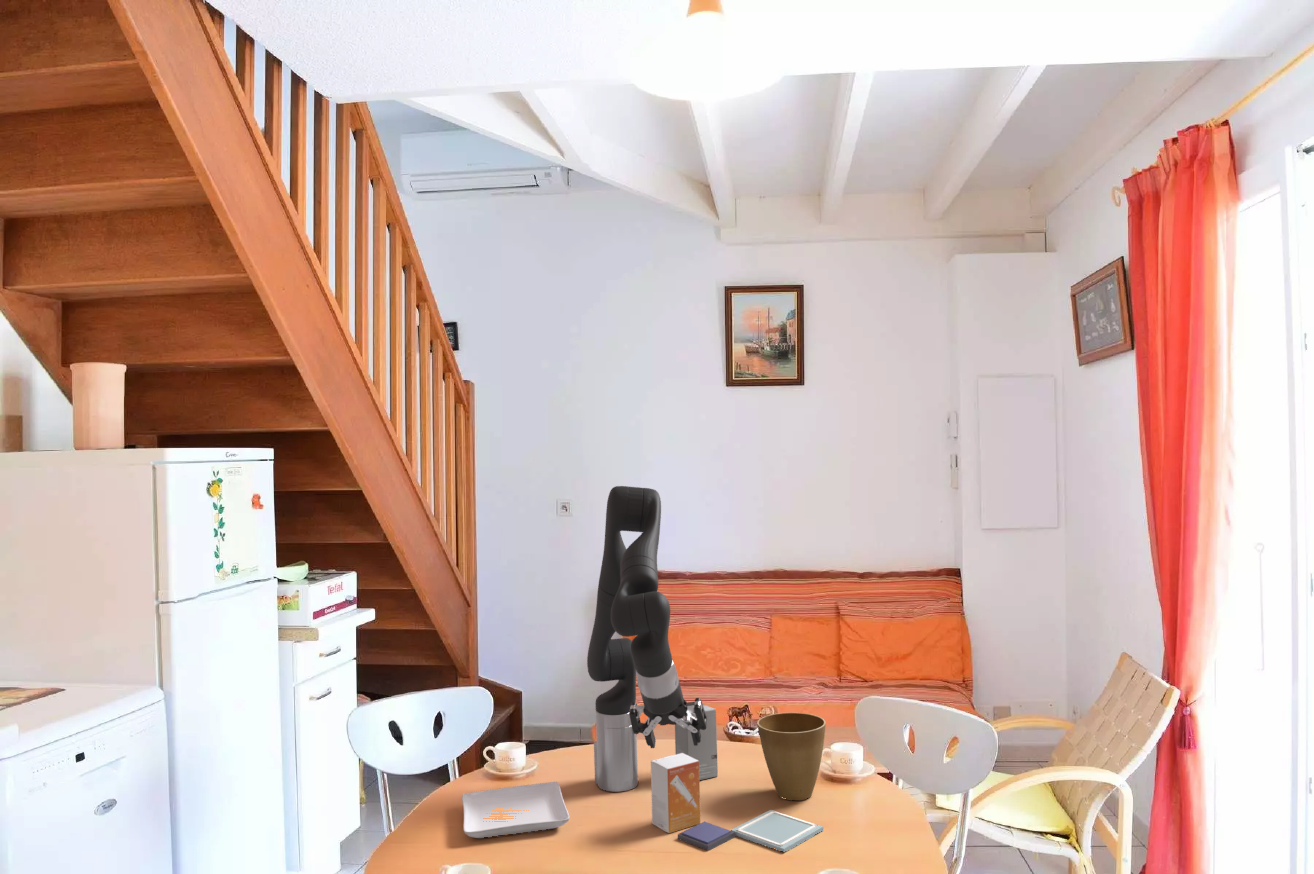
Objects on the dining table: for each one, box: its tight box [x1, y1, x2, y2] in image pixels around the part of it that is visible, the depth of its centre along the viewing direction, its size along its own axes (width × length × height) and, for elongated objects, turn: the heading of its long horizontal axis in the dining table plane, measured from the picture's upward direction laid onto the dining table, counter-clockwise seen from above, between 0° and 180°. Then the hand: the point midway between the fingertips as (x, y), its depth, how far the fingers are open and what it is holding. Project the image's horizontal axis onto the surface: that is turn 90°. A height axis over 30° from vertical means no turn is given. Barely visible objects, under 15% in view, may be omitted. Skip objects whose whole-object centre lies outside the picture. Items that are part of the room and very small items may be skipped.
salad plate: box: [461, 781, 571, 839], centre depth 190 cm, size 21×21×3 cm
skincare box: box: [674, 703, 719, 781], centre depth 211 cm, size 8×7×16 cm
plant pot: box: [756, 712, 827, 801], centre depth 198 cm, size 15×15×16 cm
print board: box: [730, 809, 824, 853], centre depth 179 cm, size 13×13×1 cm
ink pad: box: [677, 821, 736, 851], centre depth 177 cm, size 8×8×1 cm
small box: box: [650, 753, 701, 834], centre depth 184 cm, size 8×6×13 cm
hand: (674, 743), depth 175 cm, fingers open, 8 cm apart
